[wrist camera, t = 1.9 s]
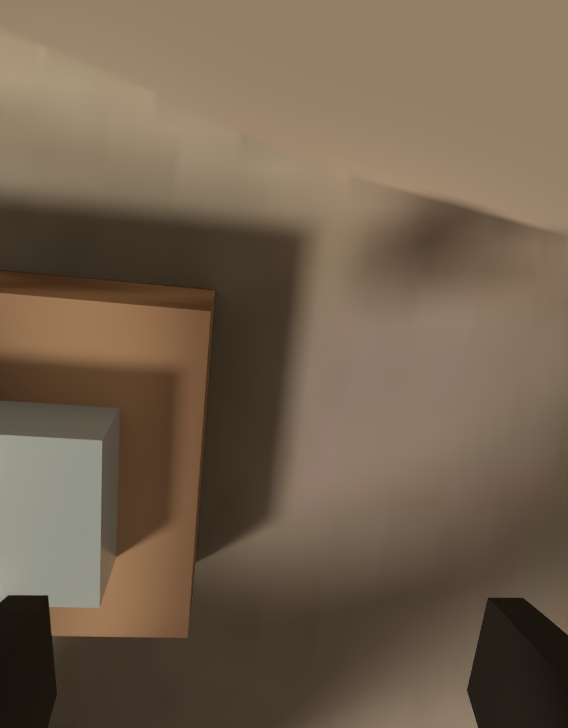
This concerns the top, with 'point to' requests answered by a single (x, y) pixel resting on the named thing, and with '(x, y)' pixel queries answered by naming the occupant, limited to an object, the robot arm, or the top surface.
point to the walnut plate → (124, 424)
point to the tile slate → (58, 501)
